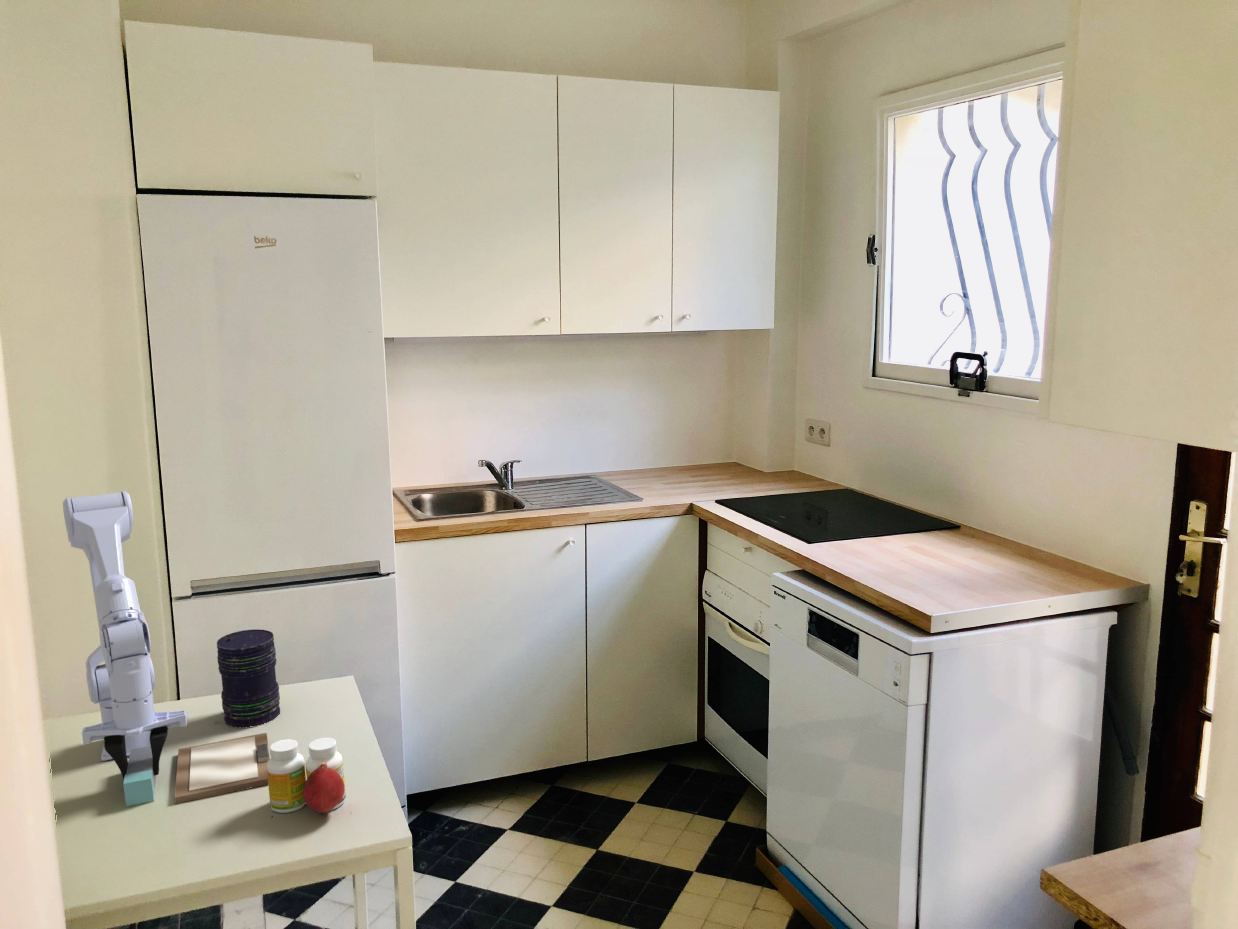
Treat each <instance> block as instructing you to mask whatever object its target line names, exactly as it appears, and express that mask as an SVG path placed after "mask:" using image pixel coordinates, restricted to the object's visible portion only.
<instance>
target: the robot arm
mask: <svg viewBox="0 0 1238 929" xmlns="http://www.w3.org/2000/svg"><path fill="white" fill-rule="evenodd" d="M62 510H63V517H64V523H65V529H66V532H67V540H68V542H69V543H70V546H71V547H72V548H75V549H79V550H82V551H83V552H84V554H85V556H86V558H87V560H88V563H89V570H90V576H91V577H90V578H91V583H92V584H91V585H92V589H93V597H94V603H95V609H96V618H97V624H98V630H99V642H100V644H99V646H98V647H97V648H95V649H94V650H93V651H92V652H91V653H90V654H89V656H87V658H86V661H85V669H86V671H85V672H86V673H85V674H86V683H87V688H88V689H87V691H88V696H89V700H90V702H92V703H93V704H94V705H96V704H98V705H99V710H100V717H101V723H98V724H94V725H90V726H89V725H88V726H85V727H83V728H82V731H81V736H82V743H83V745H87V744H91V743H92V742H93V741H99V740H103V741H104V744H103V747H102V752H101V756H100V761H102V762H103V761H104V762H105V761H108V760H113V761H114V763H115V764H116V766H117V767H118V769H119V771H120V773H121V775H122V779H123V780H124V777H125V775H126V772H127V767H128V761H129V758H128V757H129V756H130V750H131V749H136V748H141V747H147V746H151V751H152V757H153V773H154V775H156V776H158V775H159V773H160V760H161V755H162V751H163V748H164V746H165V743H166V740H167V738H168V733H169V728H173V727H180V728H183V727H187V725H188V719H187V718H188V716H187V710H186V709H185V710H177V711H176V710H175V711H156V712H155V710H156V709H155V702H154V694H153V690H154V689H155V687H156V677H155V669H154V664H153V660H152V658H151V654H150V653H151V645H152V642H151V634H150V629H149V624H148V622H147V620H146V617H145V614H144V612H143V610H141V607H140V603H139V602H140V601H139V599H138V594H137V593H138V592H137V588H136V584H135V582H134V580H132V579H131V578H128V577H127V576H126V575H125V567H124V558H123V557H124V556H123V547H122V543H124V542H126V541H127V540H129V539H131V534H132V533H133V524H134V510H133V503H132V500H131V495H130V493H129V492H127V491H126V490H122V491H119V492H110V493H102V494H93V495H86V496H84V495H83V496H77V497H71V498H70V497H65V498H64V500H63V501H62ZM103 662H104V664H101V663H103Z"/></svg>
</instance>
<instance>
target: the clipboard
mask: <svg viewBox="0 0 1238 929" xmlns="http://www.w3.org/2000/svg"><path fill="white" fill-rule="evenodd" d="M177 752H178V753H177V754H178V755H177V763H176V778H175V788H174V789H175V790H174V791H175V792H174V802H175V804H181V803H186V802H191V801H195V800H200V799H205V798H209V797H215V796H218V795H219V796H220V795H224V794H230V793H233V792H232V791H235V792H239V791H238V790H240V791H243V790H242V789H245V790H248V789H247V788H250V787H254V788H258V787H257V786H259V787H263V785H264V786H268V776H267V763H268V761H269V760H270V759H271V756H270V747H269V741H268V733H267V732H262V733H258V734H253V735H252V734H251V735H248V736H247V735H245V736H240V737H235V738H231V739H226V740H225V739H224V740H220V741H219V740H218V741H214V742H210V743H203V744H199V745H198V744H197V745H193V746H187V747H181V748H178V751H177ZM250 789H251V788H250ZM229 792H230V793H229Z"/></svg>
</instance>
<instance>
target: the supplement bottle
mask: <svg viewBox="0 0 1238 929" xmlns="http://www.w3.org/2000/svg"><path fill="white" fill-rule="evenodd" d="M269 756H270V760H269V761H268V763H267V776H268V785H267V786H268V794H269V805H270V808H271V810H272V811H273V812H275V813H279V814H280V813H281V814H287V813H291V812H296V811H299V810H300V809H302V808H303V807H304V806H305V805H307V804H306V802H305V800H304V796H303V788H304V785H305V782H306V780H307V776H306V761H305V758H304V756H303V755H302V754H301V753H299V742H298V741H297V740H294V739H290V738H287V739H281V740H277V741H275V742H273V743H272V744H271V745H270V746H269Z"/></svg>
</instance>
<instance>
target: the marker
mask: <svg viewBox="0 0 1238 929" xmlns="http://www.w3.org/2000/svg"><path fill="white" fill-rule="evenodd" d="M156 778H157V775H154V773H153V757H152V751H151V746H147V747H141V748H136V749H131V750H130V756H128V767H127V772H126V775H125V777H124V779H123V784H122V785H123V791H124V792H123V793H124V800H125V807H134V806H137V805H141V804H147V803H152V802H155V796H156V794H155V793H156V791H155V788H156V780H157V779H156Z"/></svg>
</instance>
